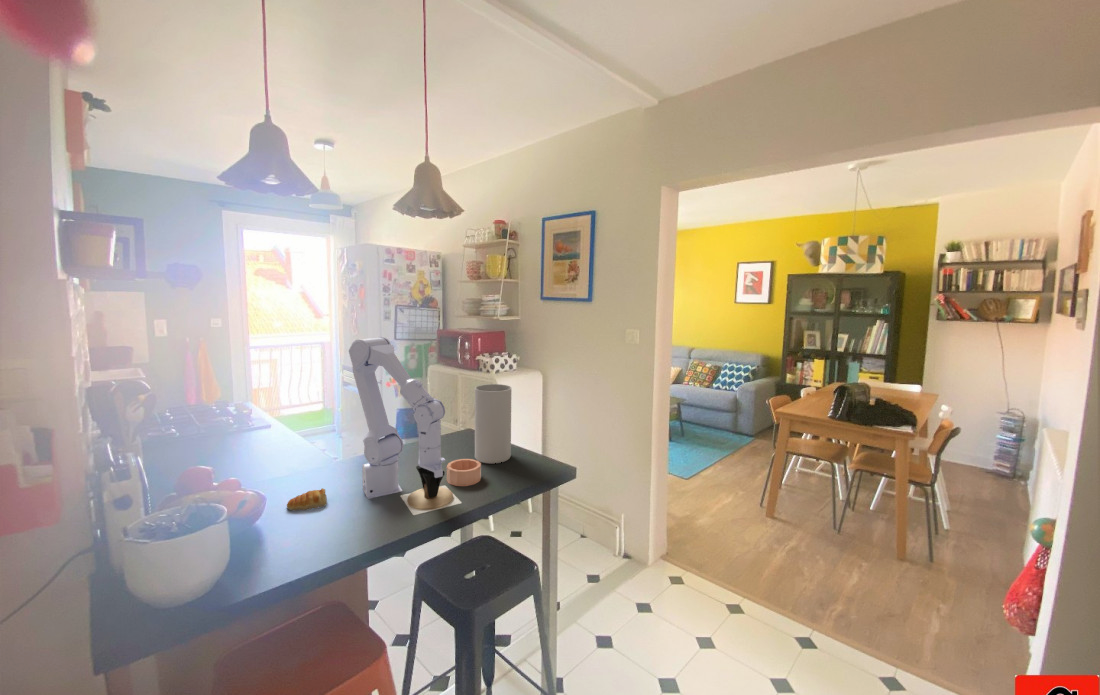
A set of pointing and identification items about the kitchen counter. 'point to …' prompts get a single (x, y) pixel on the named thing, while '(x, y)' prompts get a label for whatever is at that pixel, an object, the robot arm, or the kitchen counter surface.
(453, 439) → the kitchen counter surface
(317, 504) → the pastry
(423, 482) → the robot arm
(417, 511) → the mat
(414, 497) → the lid
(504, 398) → the cylinder vase
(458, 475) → the bowl
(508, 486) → the kitchen counter surface
